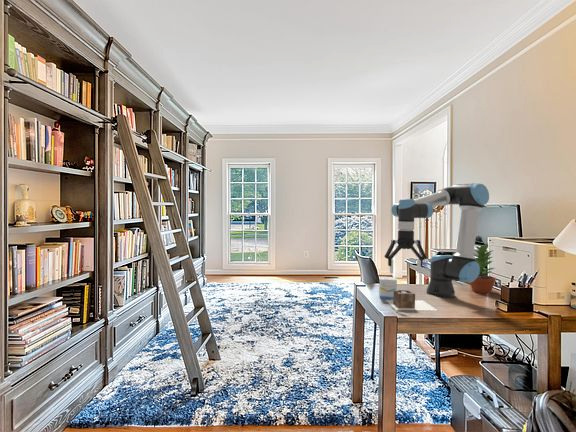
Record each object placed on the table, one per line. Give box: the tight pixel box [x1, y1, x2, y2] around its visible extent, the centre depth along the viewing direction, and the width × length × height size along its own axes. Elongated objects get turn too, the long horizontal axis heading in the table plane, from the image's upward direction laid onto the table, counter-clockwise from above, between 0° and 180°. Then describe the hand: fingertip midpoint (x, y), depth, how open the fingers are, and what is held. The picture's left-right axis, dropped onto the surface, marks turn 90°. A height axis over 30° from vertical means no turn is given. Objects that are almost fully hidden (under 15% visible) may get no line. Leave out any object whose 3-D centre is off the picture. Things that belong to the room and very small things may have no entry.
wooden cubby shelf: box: [393, 289, 416, 308], centre depth 175 cm, size 8×8×8 cm
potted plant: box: [470, 243, 497, 294], centre depth 217 cm, size 15×15×30 cm
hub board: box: [385, 292, 438, 313], centre depth 177 cm, size 20×18×8 cm
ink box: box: [378, 276, 398, 300], centre depth 192 cm, size 9×8×12 cm
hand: (405, 272), depth 175 cm, fingers open, 13 cm apart
